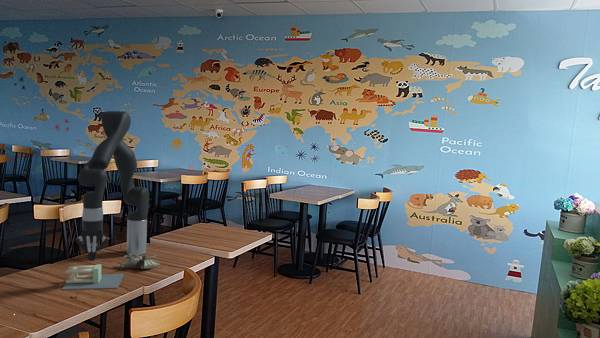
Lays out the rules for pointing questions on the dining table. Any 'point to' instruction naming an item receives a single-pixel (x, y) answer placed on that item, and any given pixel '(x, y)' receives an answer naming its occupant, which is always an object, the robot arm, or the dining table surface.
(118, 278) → the mat
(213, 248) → the dining table surface
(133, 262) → the figurine
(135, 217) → the robot arm
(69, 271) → the stool
